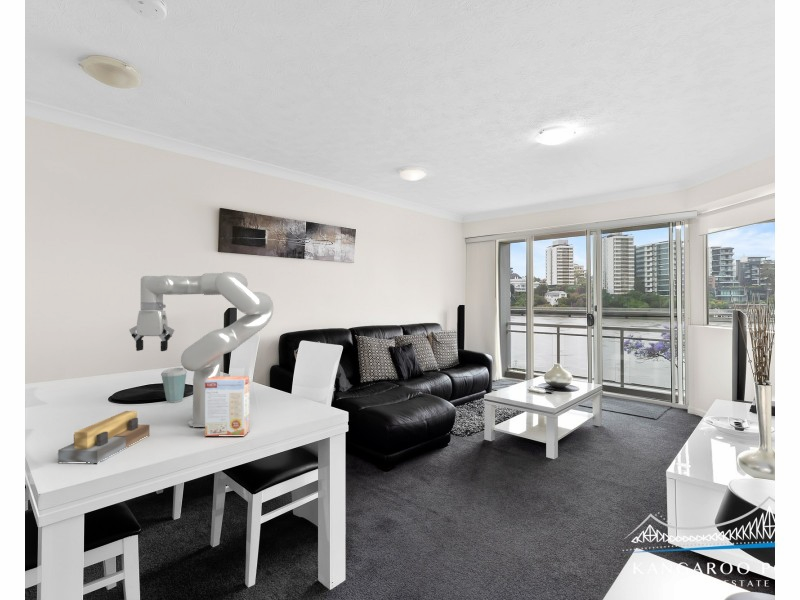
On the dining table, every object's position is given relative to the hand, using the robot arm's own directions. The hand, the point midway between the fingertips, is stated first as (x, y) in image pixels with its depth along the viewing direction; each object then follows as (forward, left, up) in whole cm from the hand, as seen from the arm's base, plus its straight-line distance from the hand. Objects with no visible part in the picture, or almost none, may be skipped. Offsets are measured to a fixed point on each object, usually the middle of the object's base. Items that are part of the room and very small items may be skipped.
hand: (151, 350), depth 159 cm
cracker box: (-36, +12, -28) cm, 47 cm away
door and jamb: (-3, +27, -28) cm, 39 cm away
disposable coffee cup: (+9, -30, -28) cm, 42 cm away
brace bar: (-3, +27, -24) cm, 36 cm away
